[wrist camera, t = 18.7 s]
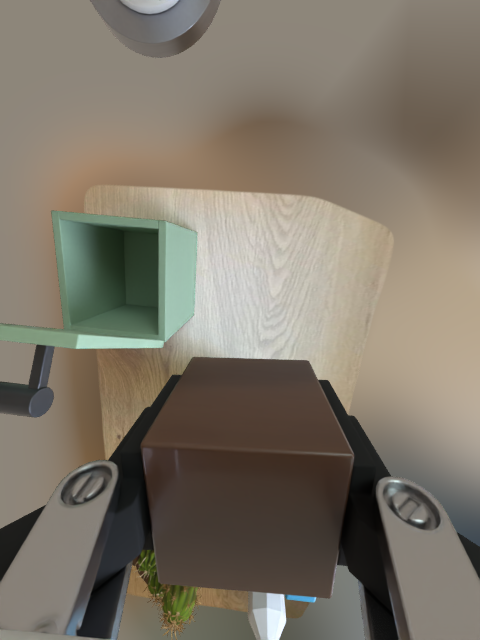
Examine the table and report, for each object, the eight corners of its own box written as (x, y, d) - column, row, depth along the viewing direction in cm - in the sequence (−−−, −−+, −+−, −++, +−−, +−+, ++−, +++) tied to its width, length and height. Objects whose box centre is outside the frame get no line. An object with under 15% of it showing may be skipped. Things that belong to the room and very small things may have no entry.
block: (192, 356, 9) (138, 444, 5) (309, 359, 9) (356, 455, 5) (197, 450, 11) (157, 585, 6) (300, 455, 10) (332, 601, 6)
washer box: (121, 225, 36) (50, 210, 24) (197, 232, 36) (166, 220, 23) (124, 307, 39) (63, 331, 27) (194, 314, 39) (165, 342, 27)
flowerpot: (165, 522, 52) (110, 682, 32) (144, 465, 48) (68, 608, 29) (231, 517, 50) (215, 682, 31) (214, 457, 46) (185, 603, 27)
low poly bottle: (279, 553, 52) (295, 761, 31) (249, 552, 52) (245, 755, 31) (280, 532, 50) (297, 736, 29) (249, 530, 50) (244, 729, 29)
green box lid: (-124, 311, 13) (-151, 411, 13) (78, 334, 13) (60, 438, 12) (61, 329, 27) (52, 378, 26) (164, 340, 26) (156, 391, 26)
